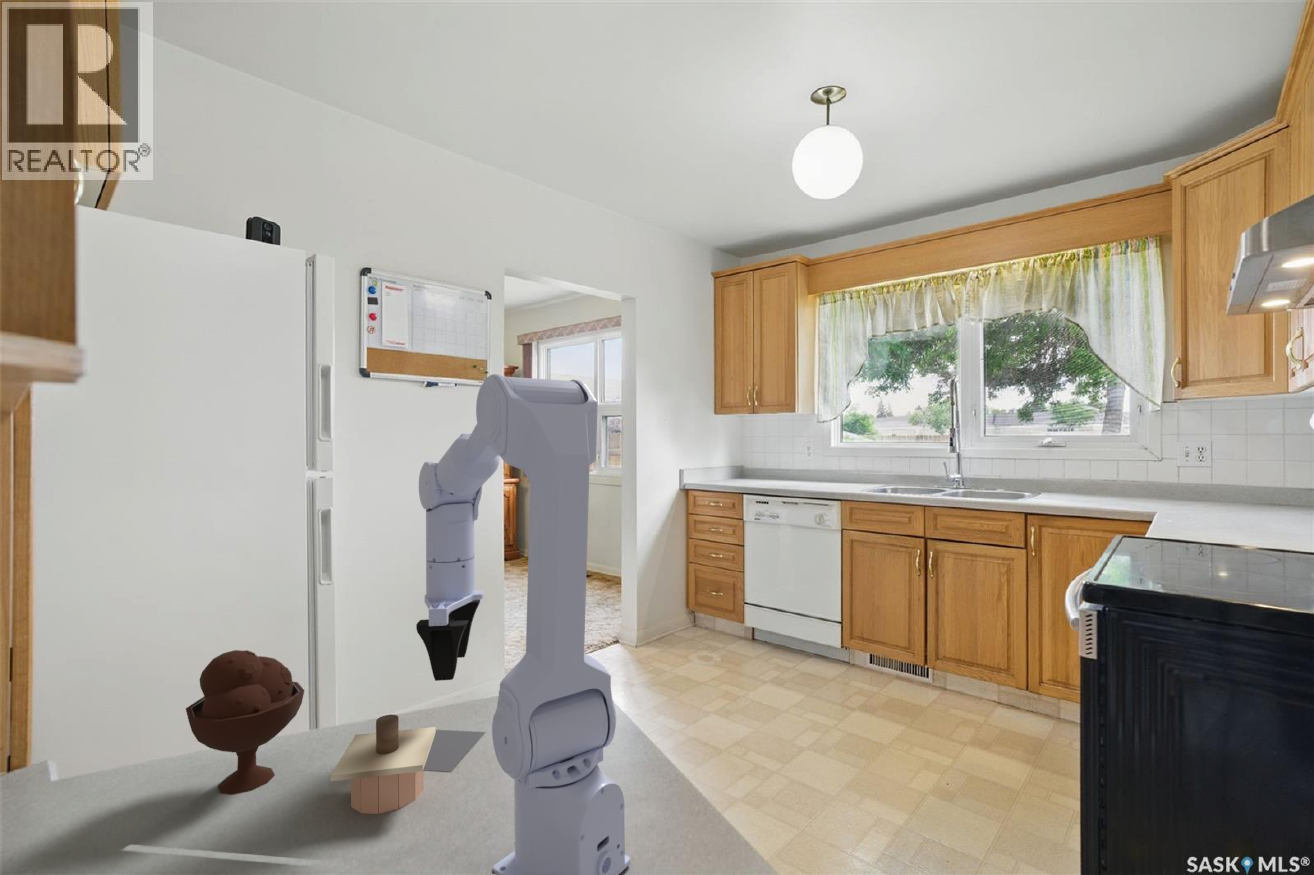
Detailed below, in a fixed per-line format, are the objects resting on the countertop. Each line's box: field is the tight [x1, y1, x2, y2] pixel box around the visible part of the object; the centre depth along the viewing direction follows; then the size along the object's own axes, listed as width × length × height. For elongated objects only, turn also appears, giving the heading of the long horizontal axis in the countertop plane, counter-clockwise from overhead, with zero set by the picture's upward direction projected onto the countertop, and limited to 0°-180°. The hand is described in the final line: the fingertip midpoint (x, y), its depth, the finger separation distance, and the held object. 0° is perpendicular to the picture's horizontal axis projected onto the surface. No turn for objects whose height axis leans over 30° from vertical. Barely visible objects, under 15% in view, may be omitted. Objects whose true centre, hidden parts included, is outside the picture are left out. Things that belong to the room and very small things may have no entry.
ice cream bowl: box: [185, 649, 305, 795], centre depth 68 cm, size 11×11×15 cm
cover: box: [330, 714, 437, 782], centre depth 65 cm, size 9×9×4 cm
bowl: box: [350, 771, 424, 815], centre depth 65 cm, size 7×7×4 cm
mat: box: [423, 729, 486, 773], centre depth 74 cm, size 10×10×1 cm
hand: (450, 667), depth 75 cm, fingers open, 7 cm apart
